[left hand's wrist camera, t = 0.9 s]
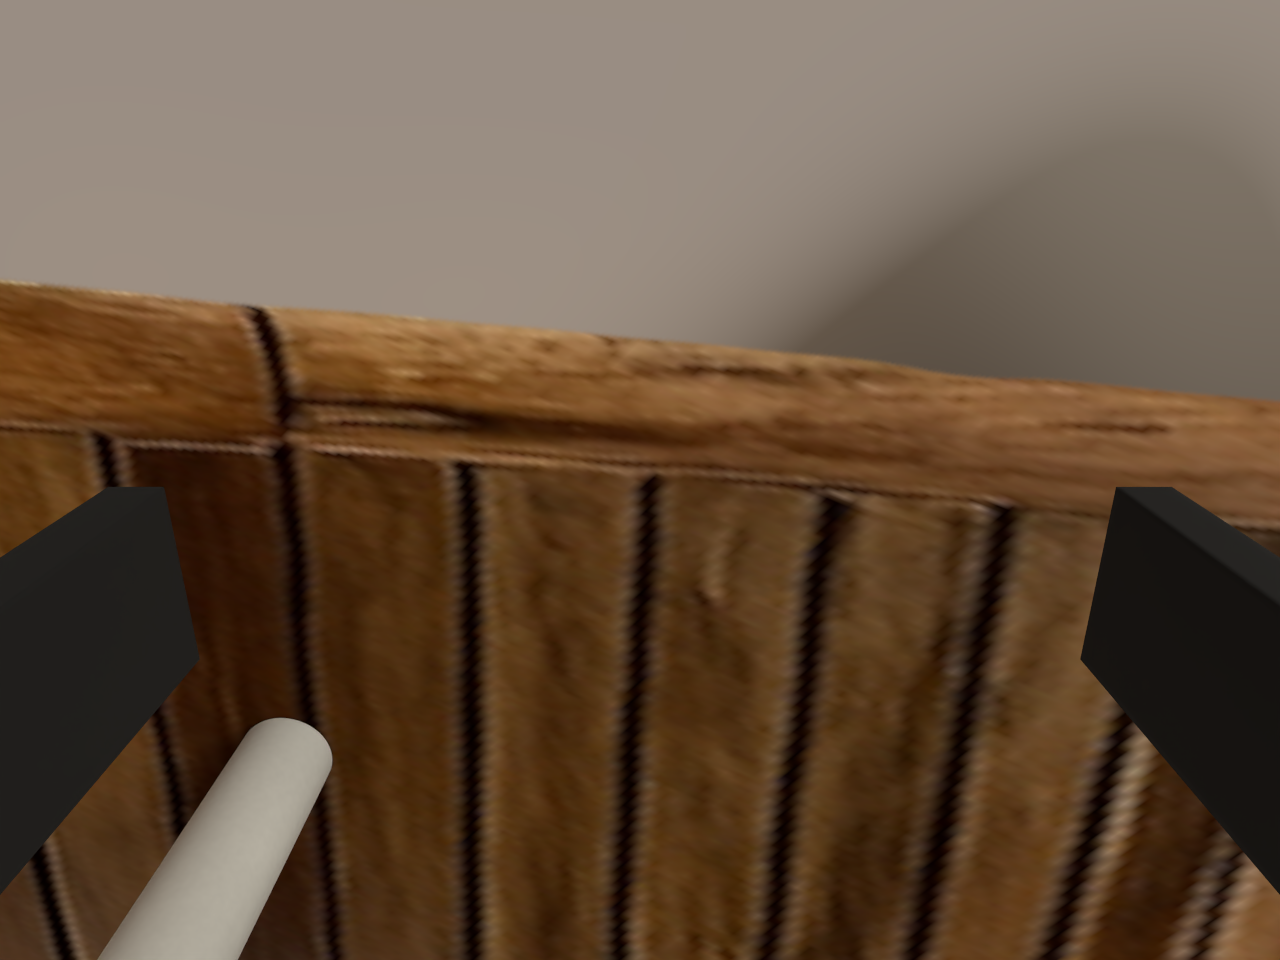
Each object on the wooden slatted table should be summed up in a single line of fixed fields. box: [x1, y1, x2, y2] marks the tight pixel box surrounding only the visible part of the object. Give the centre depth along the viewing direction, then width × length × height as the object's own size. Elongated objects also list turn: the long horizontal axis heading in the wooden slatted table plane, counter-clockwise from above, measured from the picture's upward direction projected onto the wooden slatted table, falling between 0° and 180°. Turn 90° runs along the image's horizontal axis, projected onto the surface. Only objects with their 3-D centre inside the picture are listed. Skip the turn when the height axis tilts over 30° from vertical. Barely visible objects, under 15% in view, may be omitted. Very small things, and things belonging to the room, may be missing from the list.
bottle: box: [97, 718, 332, 960], centre depth 38 cm, size 5×5×22 cm
